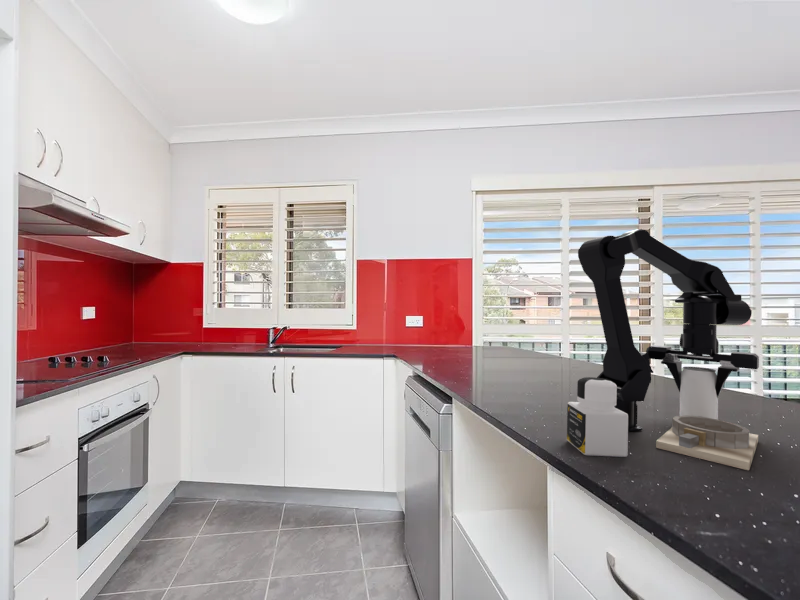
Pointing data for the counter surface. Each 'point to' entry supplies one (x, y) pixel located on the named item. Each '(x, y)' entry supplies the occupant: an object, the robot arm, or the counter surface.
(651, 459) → the counter surface
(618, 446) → the medicine bottle
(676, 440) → the board
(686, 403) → the can
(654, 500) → the counter surface
